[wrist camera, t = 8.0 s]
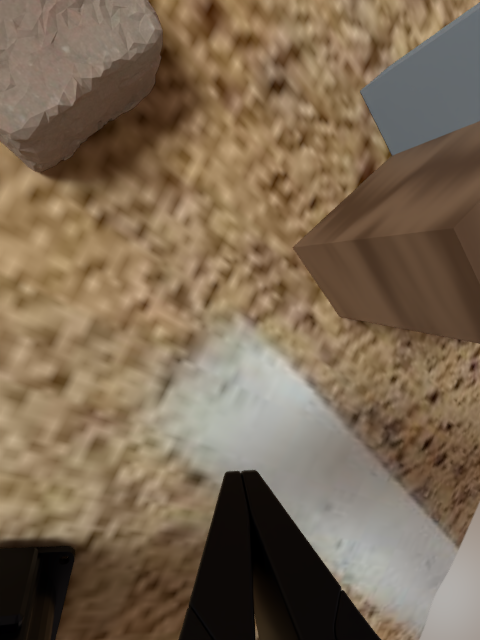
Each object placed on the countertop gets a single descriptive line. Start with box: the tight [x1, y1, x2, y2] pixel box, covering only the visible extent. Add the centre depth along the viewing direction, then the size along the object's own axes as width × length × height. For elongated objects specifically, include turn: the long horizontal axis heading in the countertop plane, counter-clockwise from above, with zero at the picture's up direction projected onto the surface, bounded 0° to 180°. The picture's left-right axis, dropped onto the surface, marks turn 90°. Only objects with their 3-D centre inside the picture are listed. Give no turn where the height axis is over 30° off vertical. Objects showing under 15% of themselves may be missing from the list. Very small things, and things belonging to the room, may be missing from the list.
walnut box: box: [293, 121, 480, 343], centre depth 19 cm, size 10×6×11 cm, turn 130°
